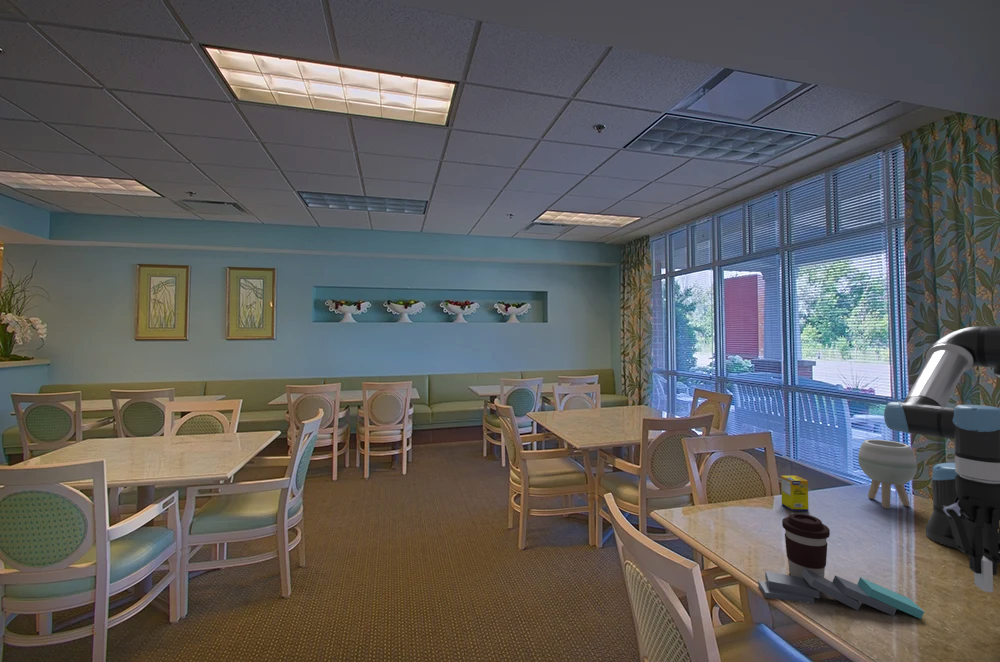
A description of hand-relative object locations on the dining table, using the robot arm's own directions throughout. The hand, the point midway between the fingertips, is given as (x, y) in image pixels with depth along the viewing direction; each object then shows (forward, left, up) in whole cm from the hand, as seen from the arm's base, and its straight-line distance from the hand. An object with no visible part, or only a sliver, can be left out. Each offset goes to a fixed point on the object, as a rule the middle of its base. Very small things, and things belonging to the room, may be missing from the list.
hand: (983, 588), depth 92 cm
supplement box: (+16, -61, -8) cm, 63 cm away
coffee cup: (+30, -10, -8) cm, 32 cm away
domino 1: (+31, 0, -5) cm, 31 cm away
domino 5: (+12, 0, -7) cm, 14 cm away
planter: (-18, -75, -8) cm, 77 cm away
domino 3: (+23, 0, -7) cm, 24 cm away
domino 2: (+32, 0, -7) cm, 33 cm away
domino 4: (+17, 0, -7) cm, 18 cm away
